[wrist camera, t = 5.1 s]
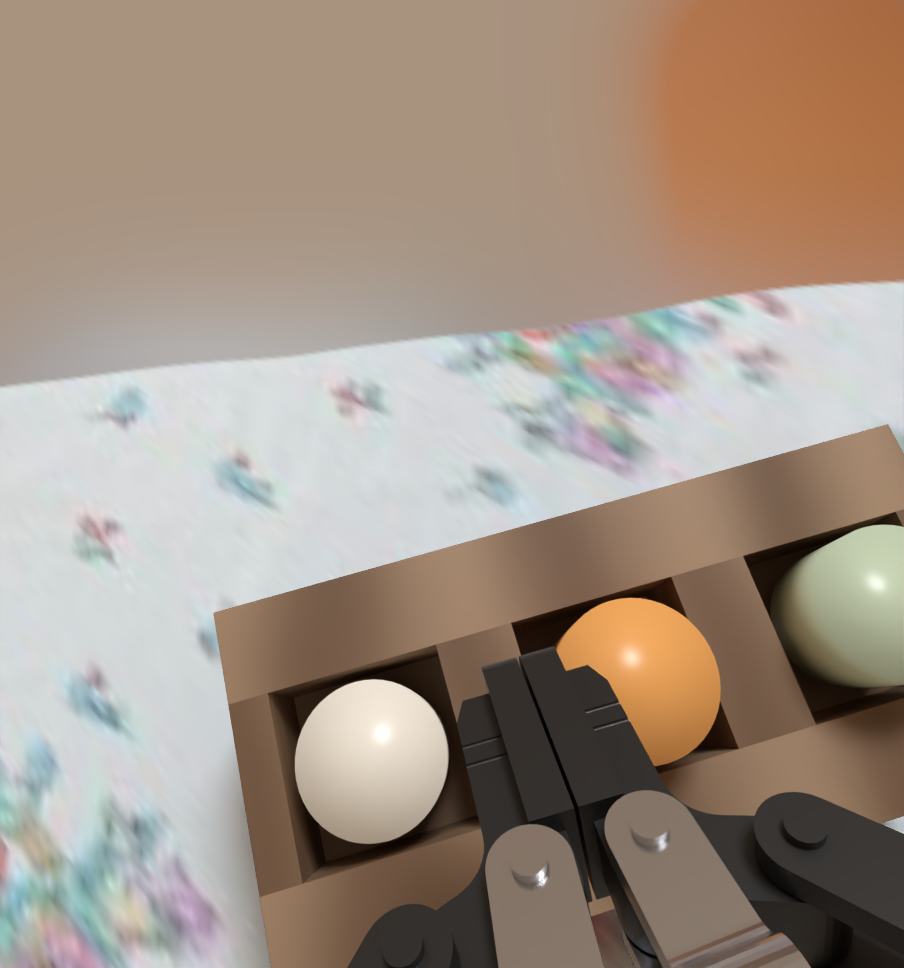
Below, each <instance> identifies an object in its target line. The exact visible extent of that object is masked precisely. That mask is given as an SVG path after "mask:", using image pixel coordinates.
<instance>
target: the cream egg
mask: <svg viewBox="0 0 904 968" xmlns="http://www.w3.org/2000/svg"><path fill="white" fill-rule="evenodd" d="M449 765H450V743H449V738H448V734H447V731H446V728H445V726H444V723H443V721H442V719H441V718H440V716H439V715H438V713H437V711H436V710H435V709H434V708H433V707H432V706H431V704H429V703H428V702H427V701H426V700H425V699H424V698H422V697H421V696H419V695H418V694H416V693H415V692H413V691H412V690H410V689H408V688H406V687H404V686H402V685H400V684H397V683H394V682H391V681H385V680H375V679H372V680H362V681H357V682H353V683H350V684H348V685H345V686H343V687H341V688H339V689H337V690H335V691H334V692H332V693H331V694H330V695H328V696H327V697H326V698H325V699H323V700H322V701H321V702H320V703H319V704H318V705H317V707H316V708H315V709H314V710H313V711H312V713H311V714H310V716H309V717H308V719H307V721H306V723H305V724H304V726H303V728H302V731H301V734H300V736H299V739H298V743H297V747H296V754H295V775H296V782H297V786H298V790H299V793H300V795H301V798H302V801H303V803H304V804H305V806H306V808H307V810H308V811H309V813H310V814H311V815H312V817H313V818H314V819H315V820H316V821H317V822H318V823H319V824H320V825H321V826H322V827H323V828H324V829H326V830H327V831H328V832H330V833H332V834H333V835H335V836H337V837H339V838H342V839H344V840H347V841H350V842H355V843H362V844H374V843H381V842H386V841H390V840H392V839H395V838H398V837H400V836H402V835H403V834H405V833H407V832H409V831H410V830H411V829H413V828H414V827H415V826H417V825H418V824H419V823H420V822H421V821H422V820H423V819H424V818H425V817H426V816H427V814H428V813H429V812H430V810H431V809H432V808H433V806H434V804H435V803H436V801H437V799H438V797H439V795H440V793H441V790H442V788H443V786H444V784H445V781H446V778H447V775H448V771H449Z"/></svg>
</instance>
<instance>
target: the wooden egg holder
mask: <svg viewBox="0 0 904 968" xmlns="http://www.w3.org/2000/svg"><path fill="white" fill-rule="evenodd" d="M872 525H895V526H901V527H904V453H903V451H902V449H901V448H900V446H899V444H898V442H897V440H896V438H895V437H894V435H893V433H892V431H891V429H890V427H889V425H888V424H887V425H884V426H880V427H876V428H873V429H869V430H866V431H862V432H859V433H855V434H851V435H848V436H844V437H841V438H837V439H834V440H830V441H826V442H823V443H819V444H816V445H812V446H808V447H805V448H801V449H798V450H794V451H791V452H787V453H783V454H780V455H776V456H773V457H769V458H766V459H762V460H758V461H755V462H751V463H748V464H744V465H740V466H737V467H733V468H730V469H726V470H723V471H719V472H715V473H712V474H708V475H705V476H701V477H698V478H694V479H690V480H687V481H683V482H680V483H676V484H673V485H669V486H665V487H662V488H658V489H655V490H651V491H647V492H644V493H640V494H637V495H633V496H630V497H626V498H622V499H619V500H615V501H612V502H608V503H605V504H601V505H597V506H594V507H590V508H587V509H583V510H580V511H576V512H572V513H569V514H565V515H562V516H558V517H554V518H551V519H547V520H544V521H540V522H537V523H533V524H529V525H526V526H522V527H519V528H515V529H512V530H508V531H504V532H501V533H497V534H494V535H490V536H487V537H483V538H479V539H476V540H472V541H469V542H465V543H461V544H458V545H454V546H451V547H447V548H444V549H440V550H436V551H433V552H429V553H426V554H422V555H419V556H415V557H411V558H408V559H404V560H401V561H397V562H394V563H390V564H386V565H383V566H379V567H376V568H372V569H368V570H365V571H361V572H358V573H354V574H351V575H347V576H343V577H340V578H336V579H333V580H329V581H326V582H322V583H318V584H315V585H311V586H308V587H304V588H300V589H297V590H293V591H290V592H286V593H283V594H279V595H275V596H272V597H268V598H265V599H261V600H258V601H254V602H250V603H247V604H243V605H240V606H236V607H233V608H229V609H225V610H222V611H218V612H215V613H214V619H215V626H216V632H217V638H218V644H219V650H220V656H221V662H222V668H223V675H224V681H225V687H226V693H227V699H228V705H229V711H230V717H231V724H232V730H233V736H234V742H235V748H236V754H237V760H238V766H239V773H240V779H241V785H242V791H243V797H244V803H245V809H246V815H247V822H248V828H249V834H250V840H251V846H252V852H253V858H254V864H255V871H256V877H257V883H258V889H259V895H260V901H261V907H262V914H263V920H264V926H265V932H266V938H267V944H268V950H269V956H270V963H271V968H347V967H348V965H349V964H350V962H351V960H352V958H353V957H354V955H355V953H356V951H357V950H358V948H359V946H360V945H361V943H362V941H363V939H364V938H365V936H366V934H367V933H368V931H369V930H370V928H371V927H372V925H373V924H374V923H375V922H376V921H377V920H378V919H379V918H380V917H381V916H383V915H384V914H385V913H387V912H388V911H390V910H392V909H394V908H396V907H399V906H402V905H406V904H421V905H425V906H428V907H430V908H432V909H434V910H437V909H438V908H440V907H441V906H443V905H444V904H446V903H447V902H448V901H450V900H451V899H453V898H454V897H456V896H457V895H458V894H459V893H461V892H462V891H463V890H464V889H465V888H466V887H467V886H468V885H469V884H470V883H471V882H472V880H473V879H474V877H475V876H476V874H477V872H478V870H479V868H480V865H481V862H482V859H483V854H484V841H483V835H482V831H481V827H480V822H479V818H478V814H477V809H476V805H475V801H474V796H473V792H472V788H471V783H470V779H469V775H468V770H467V766H466V762H465V757H464V753H463V748H462V744H461V740H460V736H459V731H458V727H457V720H458V717H459V713H460V709H461V705H462V701H464V700H467V699H471V698H474V697H478V696H481V695H485V694H488V693H487V689H486V685H485V681H484V677H483V673H482V669H481V667H483V666H486V665H490V664H493V663H497V662H501V661H504V660H508V659H511V658H515V657H516V658H517V660H518V663H519V656H521V655H524V654H528V653H532V652H535V651H539V650H542V649H546V648H549V647H554V646H555V644H556V643H557V642H558V640H559V639H560V638H561V637H562V636H563V635H564V634H565V633H566V632H567V631H568V630H569V629H570V628H571V627H572V626H573V625H574V624H575V623H576V622H577V621H578V620H579V619H580V618H581V617H582V616H583V615H584V614H585V613H587V612H588V611H590V610H591V609H593V608H594V607H596V606H598V605H600V604H603V603H605V602H608V601H611V600H616V599H622V598H641V599H647V600H652V601H655V602H658V603H661V604H664V605H666V606H668V607H670V608H672V609H674V610H675V611H677V612H679V613H680V614H681V615H683V616H684V617H685V618H687V619H688V620H689V621H690V622H691V623H692V624H693V625H694V626H695V627H696V628H697V629H698V630H699V632H700V633H701V634H702V635H703V637H704V638H705V640H706V641H707V643H708V645H709V646H710V648H711V650H712V653H713V655H714V657H715V660H716V663H717V666H718V671H719V676H720V686H721V693H720V703H719V708H718V712H717V715H716V718H715V721H714V723H713V725H712V727H711V729H710V731H709V733H708V734H707V735H706V737H705V738H704V740H703V741H702V742H701V743H700V744H699V745H698V746H697V747H696V748H695V749H694V750H692V751H691V752H690V753H689V754H687V755H685V756H684V757H682V758H680V759H678V760H676V761H673V762H671V763H668V764H664V765H659V766H654V767H655V768H656V770H657V772H658V774H659V776H660V778H661V779H662V781H663V783H664V785H665V786H666V788H667V789H668V790H669V791H670V793H671V794H672V795H673V796H674V797H676V798H677V799H678V800H679V801H681V802H682V803H684V804H685V805H687V806H689V807H691V808H693V809H695V810H698V811H701V812H704V813H709V814H716V815H748V816H755V813H756V811H757V809H758V807H759V806H760V805H761V804H762V803H763V802H764V801H765V800H766V799H768V798H770V797H771V796H774V795H776V794H779V793H785V792H801V793H807V794H811V795H814V796H817V797H820V798H822V799H824V800H827V801H829V802H831V803H834V804H836V805H838V806H841V807H843V808H845V809H847V810H850V811H852V812H854V813H857V814H859V815H861V816H863V817H866V818H868V819H870V820H873V821H875V822H877V823H879V824H880V823H884V822H887V821H890V820H893V819H896V818H899V817H902V816H904V685H896V686H886V687H876V688H866V689H854V690H853V689H842V688H836V687H832V686H829V685H826V684H824V683H821V682H819V681H817V680H815V679H814V678H812V677H810V676H809V675H807V674H806V673H804V672H803V671H802V670H801V669H799V668H798V667H797V666H796V665H795V664H794V663H793V662H792V661H791V660H790V658H789V657H788V656H787V655H786V653H785V652H784V650H783V647H782V645H781V643H780V640H779V638H778V636H777V634H776V631H775V629H774V627H773V624H772V621H771V613H770V603H771V597H772V592H773V589H774V586H775V584H776V582H777V580H778V578H779V577H780V575H781V574H782V573H783V571H784V570H785V569H786V568H787V567H788V566H789V565H791V564H792V563H793V562H795V561H796V560H798V559H800V558H802V557H804V556H806V555H808V554H810V553H812V552H814V551H816V550H818V549H820V548H821V547H823V546H825V545H827V544H829V543H831V542H833V541H835V540H837V539H839V538H841V537H843V536H845V535H847V534H849V533H851V532H853V531H855V530H858V529H860V528H863V527H868V526H872ZM519 665H520V664H519ZM372 679H375V680H385V681H391V682H394V683H397V684H400V685H402V686H404V687H406V688H408V689H410V690H412V691H413V692H415V693H416V694H418V695H419V696H421V697H422V698H424V699H425V700H426V701H427V702H428V703H429V704H431V706H432V707H433V708H434V709H435V710H436V711H437V713H438V715H439V716H440V718H441V719H442V721H443V723H444V726H445V728H446V731H447V734H448V738H449V743H450V765H449V771H448V775H447V778H446V781H445V784H444V786H443V788H442V790H441V793H440V795H439V797H438V799H437V801H436V803H435V804H434V806H433V808H432V809H431V810H430V812H429V813H428V814H427V816H426V817H425V818H424V819H423V820H422V821H421V822H420V823H419V824H418V825H417V826H415V827H414V828H413V829H411V830H410V831H409V832H407V833H405V834H403V835H402V836H400V837H398V838H395V839H392V840H390V841H386V842H381V843H374V844H362V843H355V842H350V841H347V840H344V839H342V838H339V837H337V836H335V835H333V834H332V833H330V832H328V831H327V830H326V829H324V828H323V827H322V826H321V825H320V824H319V823H318V822H317V821H316V820H315V819H314V818H313V817H312V815H311V814H310V813H309V811H308V810H307V808H306V806H305V804H304V803H303V801H302V798H301V795H300V793H299V790H298V786H297V782H296V775H295V754H296V747H297V743H298V739H299V736H300V734H301V731H302V728H303V726H304V724H305V723H306V721H307V719H308V717H309V716H310V714H311V713H312V711H313V710H314V709H315V708H316V707H317V705H318V704H319V703H320V702H321V701H322V700H323V699H325V698H326V697H327V696H328V695H330V694H331V693H332V692H334V691H335V690H337V689H339V688H341V687H343V686H345V685H348V684H350V683H353V682H357V681H362V680H372ZM588 880H589V878H588ZM589 885H590V890H591V895H592V900H593V901H592V902H589V903H588V905H589V909H590V914H591V916H594V915H597V914H600V913H604V912H607V911H610V910H613V909H615V907H614V904H613V901H612V899H611V896H608V897H604V898H601V899H598V900H596V897H595V894H594V892H593V889H592V886H591V883H590V881H589Z"/></svg>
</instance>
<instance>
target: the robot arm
mask: <svg viewBox="0 0 904 968" xmlns="http://www.w3.org/2000/svg"><path fill="white" fill-rule="evenodd" d="M519 664H520V665H519ZM481 669H482V673H483V677H484V681H485V685H486V689H487V693H488V694H485V695H481V696H478V697H474V698H471V699H467V700H464V701H462V705H461V709H460V713H459V717H458V720H457V727H458V731H459V736H460V740H461V744H462V748H463V753H464V757H465V762H466V766H467V770H468V775H469V779H470V783H471V788H472V792H473V796H474V801H475V805H476V809H477V814H478V818H479V822H480V827H481V831H482V835H483V841H484V854H483V859H482V862H481V865H480V868H479V870H478V872H477V874H476V876H475V877H474V879H473V880H472V882H471V883H470V884H469V885H468V886H467V887H466V888H465V889H464V890H463V891H462V892H461V893H459V894H458V895H457V896H456V897H454V898H453V899H451V900H450V901H448V902H447V903H446V904H444V905H443V906H441V907H440V908H438V909H437V910H434V909H432V908H430V907H428V906H425V905H421V904H406V905H402V906H399V907H396V908H394V909H392V910H390V911H388V912H387V913H385V914H384V915H383V916H381V917H380V918H379V919H378V920H377V921H376V922H375V923H374V924H373V925H372V927H371V928H370V930H369V931H368V933H367V934H366V936H365V938H364V939H363V941H362V943H361V945H360V946H359V948H358V950H357V951H356V953H355V955H354V957H353V958H352V960H351V962H350V964H349V965H348V967H347V968H604V966H603V962H602V958H601V955H600V951H599V947H598V943H597V940H596V936H595V932H594V929H593V924H592V919H591V914H590V909H589V905H588V903H589V902H592V901H593V900H592V895H591V890H590V885H589V881H590V883H591V886H592V889H593V892H594V894H595V897H596V900H598V899H601V898H604V897H608V896H611V899H612V901H613V904H614V907H615V909H616V912H617V914H618V917H619V920H620V923H621V928H622V934H623V939H624V943H625V946H626V948H627V950H628V953H629V955H630V957H631V959H632V961H633V963H634V966H635V968H904V834H902V833H900V832H898V831H895V830H893V829H891V828H889V827H886V826H884V825H882V824H879V823H877V822H875V821H873V820H870V819H868V818H866V817H863V816H861V815H859V814H857V813H854V812H852V811H850V810H847V809H845V808H843V807H841V806H838V805H836V804H834V803H831V802H829V801H827V800H824V799H822V798H820V797H817V796H814V795H811V794H807V793H801V792H785V793H779V794H776V795H774V796H771V797H770V798H768V799H766V800H765V801H764V802H763V803H762V804H761V805H760V806H759V807H758V809H757V811H756V813H755V816H748V815H716V814H709V813H704V812H701V811H698V810H695V809H693V808H691V807H689V806H687V805H685V804H684V803H682V802H681V801H679V800H678V799H677V798H676V797H674V796H673V795H672V794H671V793H670V791H669V790H668V789H667V788H666V786H665V785H664V783H663V781H662V779H661V778H660V776H659V774H658V772H657V770H656V768H655V767H654V765H653V763H652V761H651V759H650V757H649V755H648V754H647V752H646V750H645V748H644V746H643V744H642V743H641V741H640V739H639V737H638V735H637V733H636V732H635V730H634V728H633V726H632V724H631V722H630V721H629V720H628V717H627V715H626V713H625V711H624V709H623V708H622V706H621V704H620V703H619V700H618V698H617V696H616V695H615V693H614V691H613V689H612V687H611V685H610V684H609V682H608V680H607V679H606V678H604V677H603V676H602V675H600V674H599V673H598V672H596V671H595V670H594V669H592V668H591V667H590V666H588V665H585V666H582V667H578V668H575V669H571V670H568V671H566V670H565V668H564V666H563V663H562V661H561V659H560V657H559V655H558V653H557V651H556V649H555V647H549V648H546V649H542V650H539V651H535V652H532V653H528V654H524V655H521V656H519V663H518V660H517V658H516V657H515V658H511V659H508V660H504V661H501V662H497V663H493V664H490V665H486V666H483V667H481ZM588 878H589V880H588Z"/></svg>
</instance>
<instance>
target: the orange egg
mask: <svg viewBox="0 0 904 968" xmlns="http://www.w3.org/2000/svg"><path fill="white" fill-rule="evenodd" d="M554 647H555V649H556V651H557V653H558V655H559V657H560V659H561V661H562V663H563V666H564V668H565V670H566V671H568V670H571V669H575V668H578V667H582V666H585V665H588V666H590V667H591V668H592V669H594V670H595V671H596V672H598V673H599V674H600V675H602V676H603V677H604V678H606V679H607V680H608V682H609V684H610V685H611V687H612V689H613V691H614V693H615V695H616V696H617V698H618V700H619V703H620V704H621V706H622V708H623V709H624V711H625V713H626V715H627V717H628V720H629V721H630V722H631V724H632V726H633V728H634V730H635V732H636V733H637V735H638V737H639V739H640V741H641V743H642V744H643V746H644V748H645V750H646V752H647V754H648V755H649V757H650V759H651V761H652V763H653V765H654V766H659V765H664V764H668V763H671V762H673V761H676V760H678V759H680V758H682V757H684V756H685V755H687V754H689V753H690V752H691V751H692V750H694V749H695V748H696V747H697V746H698V745H699V744H700V743H701V742H702V741H703V740H704V738H705V737H706V735H707V734H708V733H709V731H710V729H711V727H712V725H713V723H714V721H715V718H716V715H717V712H718V708H719V703H720V693H721V686H720V676H719V671H718V666H717V663H716V660H715V657H714V655H713V653H712V650H711V648H710V646H709V645H708V643H707V641H706V640H705V638H704V637H703V635H702V634H701V633H700V632H699V630H698V629H697V628H696V627H695V626H694V625H693V624H692V623H691V622H690V621H689V620H688V619H687V618H685V617H684V616H683V615H681V614H680V613H679V612H677V611H675V610H674V609H672V608H670V607H668V606H666V605H664V604H661V603H658V602H655V601H652V600H647V599H641V598H622V599H616V600H611V601H608V602H605V603H603V604H600V605H598V606H596V607H594V608H593V609H591V610H590V611H588V612H587V613H585V614H584V615H583V616H582V617H581V618H580V619H579V620H578V621H577V622H576V623H575V624H574V625H573V626H572V627H571V628H570V629H569V630H568V631H567V632H566V633H565V634H564V635H563V636H562V637H561V638H560V639H559V640H558V642H557V643H556V644H555V646H554Z"/></svg>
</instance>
